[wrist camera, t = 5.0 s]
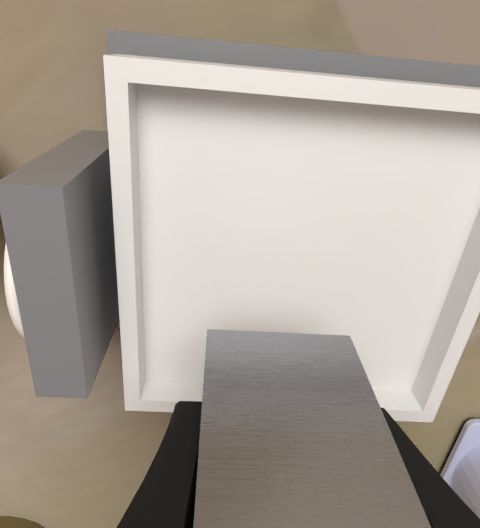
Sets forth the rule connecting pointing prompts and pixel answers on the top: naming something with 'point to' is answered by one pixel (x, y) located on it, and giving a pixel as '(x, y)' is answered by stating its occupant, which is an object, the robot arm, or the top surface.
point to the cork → (17, 523)
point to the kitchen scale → (252, 218)
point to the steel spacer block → (296, 438)
